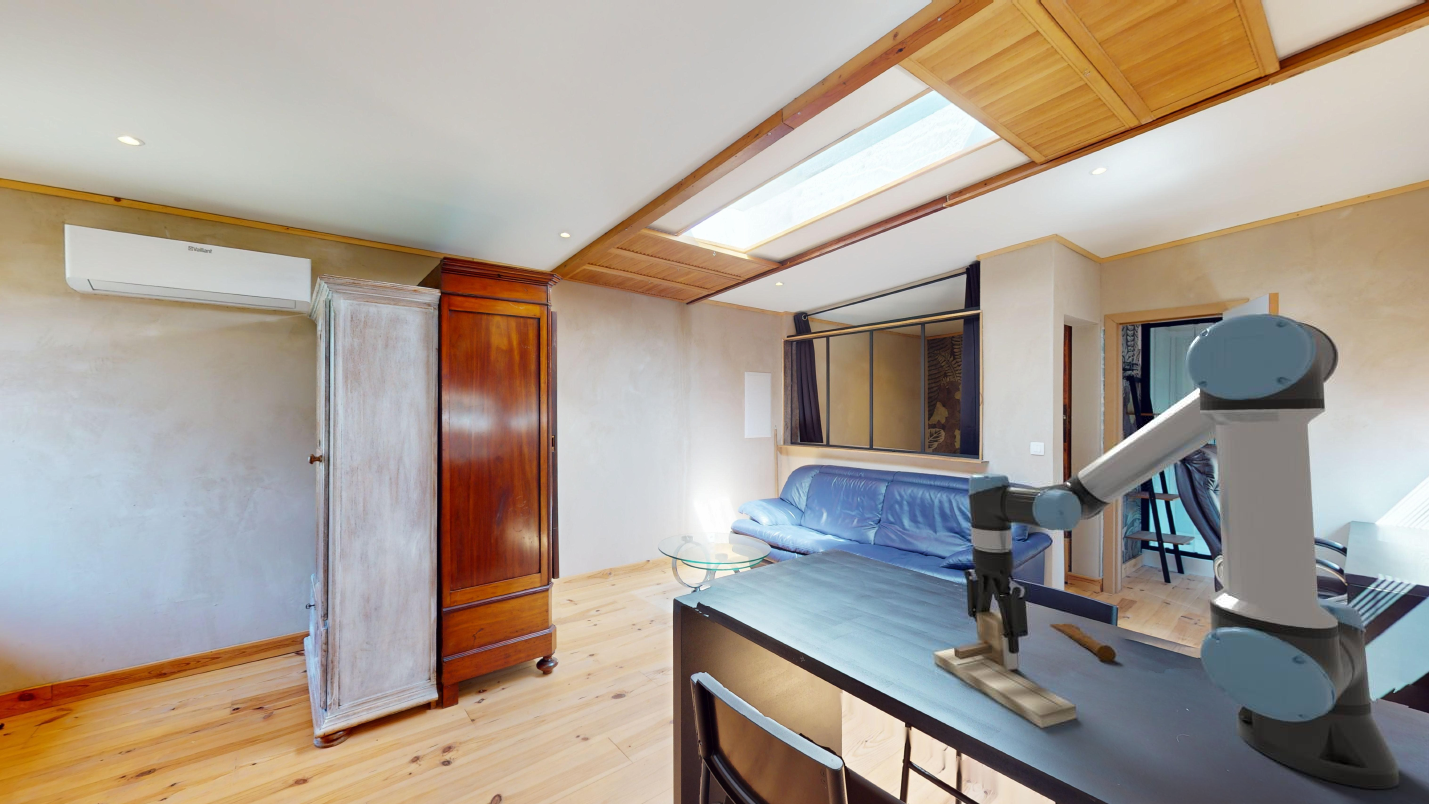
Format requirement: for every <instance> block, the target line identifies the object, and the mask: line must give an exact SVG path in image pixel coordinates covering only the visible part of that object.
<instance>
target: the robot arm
mask: <svg viewBox="0 0 1429 804" xmlns="http://www.w3.org/2000/svg"><path fill="white" fill-rule="evenodd" d="M1338 364H1339V351H1338V347H1337V345H1336V343H1335V342H1334V341H1333V339H1332V337H1330V336H1329V334H1327V333H1326V332H1324V331H1323V330H1321V328H1318V327H1315V326H1313V325H1311V324H1308V323H1304V322H1300V321H1297V320H1295V319H1293V318H1290V317H1285V316H1283V315H1281V314H1271V313H1260V314H1256V313H1254V314H1242V315H1237V316H1232V317H1229V318H1225V319H1223V320H1220V321H1218V322H1215V323H1214V324H1212V325H1210V326H1209V327H1206V328H1205V329H1204V330H1203V331H1202V332H1201V333H1199V334H1198V336H1196V337H1195V339H1194V340H1193V341H1192V342H1191V344H1190V346H1189V347H1188V350H1187V352H1186V357H1185V366H1186V371H1187V374H1188V376H1189V377H1190V379H1191V381H1192V382H1193V383H1194V384H1195V385H1196V387H1197V388H1196V389H1195V390H1193V391H1191V392H1190V393H1189V394H1188V395H1186V396H1184V397H1183V398H1182V399H1180V400H1179V401H1177V402H1176V403H1175V404H1173V405H1172V406H1171V407H1169V408H1168V409H1166V410H1164V411H1163V412H1162V413H1160V414H1159V415H1157V416H1156V417H1155V418H1153V419H1152V420H1151V421H1149V422H1148V423H1147V424H1144V425H1143V427H1141V428H1140V429H1138V430H1136V431H1135V432H1134V433H1132V434H1131V435H1129V436H1128V437H1126V438H1125V439H1124V440H1122V441H1121V442H1119V443H1118V444H1116V445H1115V446H1114V447H1113V448H1111V449H1110V450H1107V452H1105V453H1104V454H1102V455H1100V457H1098V458H1096V459H1095V460H1094V461H1092V462H1091V463H1090V464H1088V465H1087V466H1085V467H1084V468H1083V469H1081V470H1080V471H1079V472H1078V473H1076V474H1074V475H1073V476H1071V477H1070V478H1068V479H1067V480H1066V481H1064V482H1063V483H1061V484H1059V483H1058V484H1052V485H1047V486H1040V487H1033V486H1032V487H1031V486H1017V485H1011V484H1010V480H1009V477H1008V476H1007V475H1005V474H1000V473H974V474H971V475H970V476H969V478H968V494H967V496H968V503H969V513H970V535H971V536H970V538H971V539H970V540H971V545H972V546H973V547H972V548H971V556H972V564H973V566H975V567H974V568H973V569H967V570H964V571H963V575H964V578H965V580H966V598H967V615H968V617H970V618H973V619H974V621H975V623H977V613H981V612H987V611H991V606H992V605H991V604H992V600H993V597H994V600H995V601H996V602H997V605H998V608H999V612H1000V614H1001V617H1002V621H1003V625H1004V629H1005V633H1006V634H1003V635H1002V640H1003V657H1004V668H1005V669H1007V670H1008V669H1013V668H1017V653H1018V654H1019V653H1020V647H1019V645H1020V644H1019V643H1020V641H1019V638H1022V637H1027V636H1028V635H1029V631H1028V630H1029V629H1028V617H1027V614H1028V613H1027V602H1026V598H1027V594H1028V587H1027V586H1025V585H1019V584H1018V583H1017V582H1015V579H1014V576H1013V573H1012V572H1013V569H1014V567H1015V564H1014V561H1015V560H1014V552H1013V551H1012V550H1011V549H1012V548H1013V537H1012V535H1013V533H1012V524H1017V525H1023V526H1028V527H1033V528H1040V529H1041V528H1042V529H1045V530H1048V531H1063V532H1064V531H1065V532H1069V531H1073V530H1074V529H1076V527H1077V526H1078V525H1079V524H1080V522H1081V521H1082V520H1083V521H1085V520H1089V519H1093V518H1095V517H1096V516H1098V515H1100V514H1102V513H1103V511H1104V510H1105V509H1106V507H1107V506H1108V505H1110V504H1111V503H1112V502H1114V501H1116V500H1117V499H1119V498H1121V497H1122V496H1124V495H1125V494H1127V493H1129V492H1130V491H1133V490H1134V489H1135V488H1137V487H1138V486H1141V484H1144V483H1145V482H1147V481H1149V480H1150V479H1151V478H1153V477H1154V476H1156V475H1158V474H1159V473H1162V472H1163V471H1164V470H1166V469H1168V468H1169V467H1171V466H1173V465H1175V464H1176V463H1177V462H1179V461H1180V460H1183V459H1184V458H1185V457H1187V456H1189V455H1190V454H1192V453H1194V452H1195V451H1197V450H1198V449H1200V448H1202V447H1204V446H1205V445H1206V444H1208V443H1209V442H1211V441H1213V440H1214V439H1216V457H1217V458H1216V461H1217V478H1218V480H1217V481H1218V497H1219V498H1218V499H1219V515H1220V517H1219V518H1220V538H1221V539H1220V540H1221V553H1222V554H1221V555H1222V557H1221V558H1222V576H1223V588H1222V589H1220V590H1218V591H1216V592H1214V593H1212V594H1210V597H1209V607H1210V608H1209V609H1210V630H1211V631H1210V632H1208V633H1207V634H1206V635H1205V636H1204V639H1203V640H1202V643H1201V646H1200V653H1199V655H1200V660H1201V664H1202V666H1203V668H1204V670H1205V672H1206V674H1207V676H1208V677H1209V679H1210V680H1212V682H1213V683H1214V684H1215V685H1216V686H1218V687H1219V689H1220V690H1221V691H1222V692H1223V693H1225V695H1226V696H1227V697H1229V698H1230V699H1232V700H1233V701H1235V702H1236V703H1237V704H1239V705H1240V706H1239V709H1238V711H1237V714H1236V727H1237V733H1238V734H1239V736H1240V737H1241V738H1242V739H1243V741H1244V742H1245V743H1247V744H1248V745H1250V746H1251V747H1252V748H1254V749H1255V750H1257V751H1258V752H1260V753H1262V754H1264V755H1265V756H1267V757H1269V758H1270V759H1273V760H1274V761H1276V762H1279V763H1281V764H1283V765H1285V766H1287V767H1290V768H1293V769H1294V770H1297V771H1300V772H1302V773H1305V774H1308V775H1310V776H1314V777H1315V778H1316V777H1317V778H1320V779H1323V780H1327V781H1329V782H1333V783H1338V784H1341V785H1346V786H1351V787H1355V788H1362V789H1373V790H1374V789H1375V790H1386V789H1392V788H1395V787H1397V786H1398V785H1399V783H1400V776H1399V775H1400V774H1399V766H1398V763H1397V760H1396V758H1395V755H1393V753H1392V752H1393V751H1391V748H1390V747H1389V746H1388V743H1387V742H1386V740H1385V737H1384V736H1383V734H1382V732H1381V730H1380V728H1379V726H1378V725H1377V723H1376V721H1375V719H1374V717H1373V713H1372V705H1371V704H1372V703H1371V691H1370V685H1369V684H1370V683H1369V675H1368V674H1369V673H1368V663H1367V653H1366V645H1365V644H1366V642H1365V633H1366V631H1367V630H1366V629H1367V628H1365V627H1364V624H1363V620H1362V616H1361V614H1360V612H1359V611H1358V610H1356V609H1355V607H1352V606H1350V605H1347V604H1344V603H1341V602H1337V601H1333V600H1329V599H1325V598H1320V597H1319V596H1318V595H1319V593H1318V579H1317V577H1318V576H1317V564H1316V563H1317V562H1316V559H1317V558H1316V547H1315V545H1316V543H1315V542H1316V541H1315V531H1314V530H1315V529H1314V511H1313V510H1314V509H1313V495H1312V494H1313V492H1312V491H1313V490H1312V478H1311V477H1312V475H1311V460H1310V444H1309V442H1310V441H1309V428H1308V427H1309V424H1310V422H1311V421H1312V420H1314V419H1316V418H1317V417H1318V416H1320V415H1321V414H1322V413H1324V412H1325V411H1326V408H1325V407H1326V405H1325V404H1326V403H1325V386H1324V385H1325V383H1327V381H1328V380H1329V379H1330V377H1332V375H1333V374H1334V373H1335V371H1336V369H1337V366H1338ZM976 630H977V631H976V632H977V636H978V626H977V625H976Z"/></svg>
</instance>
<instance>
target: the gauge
mask: <svg viewBox="0 0 1429 804" xmlns="http://www.w3.org/2000/svg"><path fill="white" fill-rule="evenodd" d="M977 626H978V635H977V640H978V642H977V643H972V644H967V645H966V644H965V645H963V646H962V645H961V646H958V647H954V648H953V649H954V653H955V656H956V657H957V658H959V659H966V658H970V657H975V656H980V655H981V656H983V657H985V658H987V659H988V660H990V661H992V662H994V663H996V664H998V665H1000V666H1002V667H1004V657H1003V640H1002V635H1003V634H1006V633H1005V629H1004V625H1003V621H1002V617H1001V614H1000V610H999V611H998V610H996V609H994V610H990V611H987V612H981V613H977V622H976V627H977ZM1019 669H1020V666H1019V653H1017V668H1013V669H1008V670H1009V671H1014V670H1019Z"/></svg>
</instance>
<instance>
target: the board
mask: <svg viewBox="0 0 1429 804" xmlns="http://www.w3.org/2000/svg"><path fill="white" fill-rule="evenodd" d="M933 656H934V658H933V660H934V661H933V662H934V663H935V664H937V665H939V666H940V667H942V669H945V670H946V671H947V672H950V673H951V674H953V675H954V676H956V677H958V678H960V679H962V680H963V681H964V682H966V683H968V684H969V685H971V686H972V687H973V688H976V689H977V690H979V691H980V692H982V693H983V694H985V695H987V696H989V697H990V698H992V699H994V700H996V701H997V702H998V703H1000V704H1002V705H1004V706H1005V707H1007V708H1008V709H1010V710H1012V711H1013V712H1015V713H1016V714H1018V715H1020V716H1021V717H1023V718H1025V719H1026V720H1027V721H1030V722H1031V723H1033V724H1035V725H1036V726H1038V727H1039V728H1041V729H1042V728H1046V727H1050V726H1054V725H1057V724H1059V723H1060V724H1061V723H1063V722H1067V721H1071V720H1074V719H1077V708H1076V707H1077V705H1075V704H1073V703H1071V702H1069V701H1068V700H1066V699H1064V698H1062V697H1061V696H1058V695H1056V694H1054V693H1052V692H1050V691H1048V690H1047V689H1045V688H1043V687H1041V686H1039V685H1038V684H1036V683H1034V682H1032V681H1030V680H1029V679H1026V678H1025V677H1023V676H1020V675H1019V674H1016V673H1015V672H1013V671H1012V670H1010V671H1009V670H1007V669H1005V668H1004V667H1002V666H1000V665H998V664H996V663H994V662H992V661H990V660H988V659H987V658H985V657H983V656H981V655H980V656H975V657H970V658H966V659H959V658H957V657H956V656H955V653H954V648H949V649H945V650H940V651H935V652H933Z"/></svg>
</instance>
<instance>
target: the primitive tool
mask: <svg viewBox="0 0 1429 804" xmlns="http://www.w3.org/2000/svg"><path fill="white" fill-rule="evenodd" d="M1049 626H1050V627H1052V628H1053V629H1055V630H1056V631H1058V632H1060V633H1061V634H1062V635H1063V634H1064V635H1065V636H1066V637H1068V638H1070V639H1072V640H1073V641H1075V642H1076V643H1078V644H1079V645H1081V646H1082V647H1084V648H1086V649H1087V650H1089V651H1091V652H1092V653H1093V654H1095V655H1096V657H1097V659H1098V660H1099V661H1102V662H1107V663H1109V662H1111V663H1112V662H1114V660H1115V659H1116V657H1117V656H1116V655H1117V654H1116V653H1117V652H1116V651H1115V650H1114V649H1113V648H1112V646H1110V645H1107V644H1102V643H1100V642H1098V641H1096V640H1095V639H1094V638H1092V637H1091V636H1089V635H1087V634H1086V633H1084V632H1083V631H1082V630H1081V629H1080V627H1078V626H1076V625H1074V624H1072V623H1067V622H1066V623H1063V624H1062V623H1061V624H1060V623H1057V624H1056V623H1050V624H1049Z"/></svg>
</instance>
